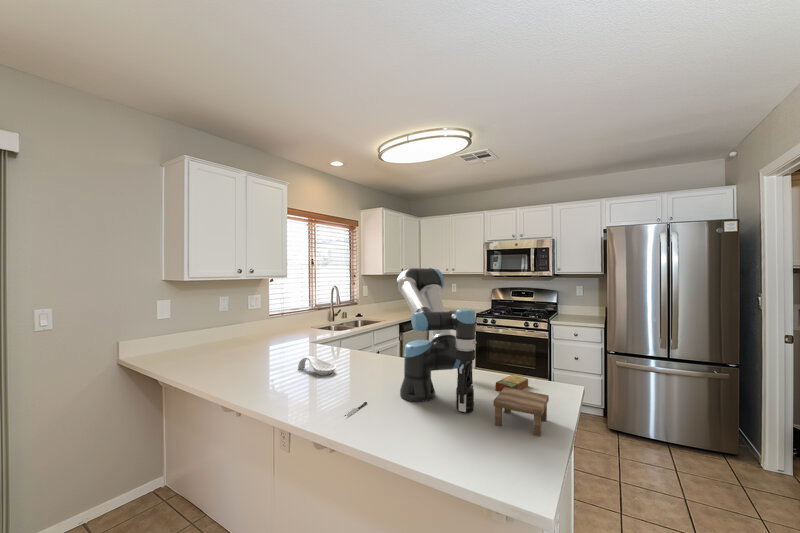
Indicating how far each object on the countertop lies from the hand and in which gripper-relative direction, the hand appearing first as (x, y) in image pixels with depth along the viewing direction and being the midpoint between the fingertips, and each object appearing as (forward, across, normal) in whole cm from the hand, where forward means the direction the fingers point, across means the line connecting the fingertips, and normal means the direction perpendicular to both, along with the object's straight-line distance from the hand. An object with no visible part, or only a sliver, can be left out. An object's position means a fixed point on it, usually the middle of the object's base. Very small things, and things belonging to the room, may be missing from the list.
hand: (464, 407), depth 136 cm
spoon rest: (+2, +13, +84) cm, 85 cm away
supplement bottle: (+1, 0, 0) cm, 1 cm away
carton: (+2, +34, -13) cm, 36 cm away
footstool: (+1, -1, -21) cm, 21 cm away
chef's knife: (+2, -21, +39) cm, 44 cm away
